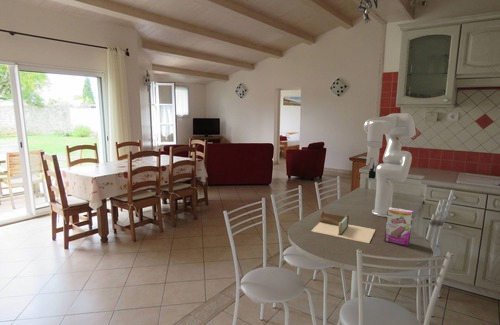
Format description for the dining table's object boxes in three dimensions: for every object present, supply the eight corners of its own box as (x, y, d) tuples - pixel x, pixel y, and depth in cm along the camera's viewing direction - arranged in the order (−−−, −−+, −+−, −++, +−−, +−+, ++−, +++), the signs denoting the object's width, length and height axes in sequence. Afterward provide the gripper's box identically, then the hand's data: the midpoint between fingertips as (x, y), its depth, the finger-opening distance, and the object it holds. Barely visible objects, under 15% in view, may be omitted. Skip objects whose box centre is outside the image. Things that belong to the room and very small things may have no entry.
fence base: (320, 221, 177) (320, 210, 175) (348, 227, 169) (349, 215, 168) (319, 222, 175) (319, 211, 174) (347, 228, 167) (348, 216, 166)
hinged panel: (347, 227, 167) (347, 216, 166) (341, 234, 157) (341, 223, 156) (344, 226, 167) (344, 216, 166) (338, 233, 157) (338, 222, 156)
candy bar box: (384, 241, 150) (386, 209, 147) (385, 238, 154) (388, 206, 152) (409, 246, 145) (413, 213, 142) (410, 243, 149) (413, 210, 146)
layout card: (322, 220, 179) (322, 219, 179) (375, 230, 165) (375, 229, 164) (310, 231, 162) (311, 230, 162) (369, 243, 148) (369, 242, 147)
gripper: (369, 142, 172) (367, 175, 175) (364, 145, 159) (362, 179, 162) (383, 143, 168) (381, 176, 171) (380, 146, 155) (377, 181, 158)
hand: (371, 178), depth 167 cm, fingers closed
